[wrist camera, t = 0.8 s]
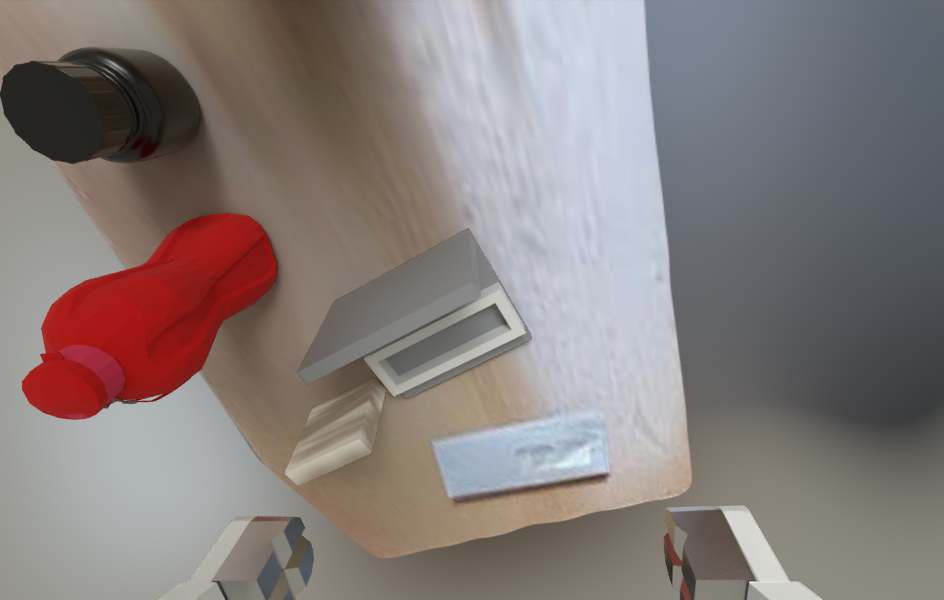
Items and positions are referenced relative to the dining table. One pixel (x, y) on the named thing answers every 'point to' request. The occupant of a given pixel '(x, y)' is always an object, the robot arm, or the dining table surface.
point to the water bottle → (149, 318)
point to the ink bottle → (101, 106)
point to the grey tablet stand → (420, 321)
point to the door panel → (338, 432)
